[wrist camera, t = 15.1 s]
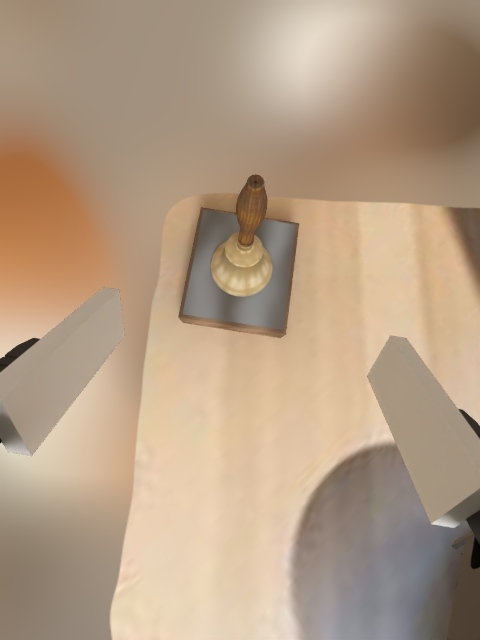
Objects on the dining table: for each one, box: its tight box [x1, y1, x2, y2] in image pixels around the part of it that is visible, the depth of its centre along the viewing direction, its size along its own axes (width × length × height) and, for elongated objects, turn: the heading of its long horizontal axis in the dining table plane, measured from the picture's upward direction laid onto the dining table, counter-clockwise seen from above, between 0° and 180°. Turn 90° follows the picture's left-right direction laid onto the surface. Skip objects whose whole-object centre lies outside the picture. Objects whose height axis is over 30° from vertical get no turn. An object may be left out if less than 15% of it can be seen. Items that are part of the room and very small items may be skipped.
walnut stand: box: [179, 208, 299, 338], centre depth 37 cm, size 14×16×4 cm
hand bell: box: [210, 175, 273, 297], centre depth 27 cm, size 8×8×16 cm
